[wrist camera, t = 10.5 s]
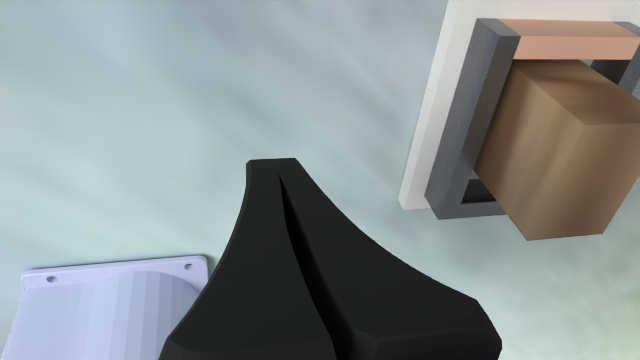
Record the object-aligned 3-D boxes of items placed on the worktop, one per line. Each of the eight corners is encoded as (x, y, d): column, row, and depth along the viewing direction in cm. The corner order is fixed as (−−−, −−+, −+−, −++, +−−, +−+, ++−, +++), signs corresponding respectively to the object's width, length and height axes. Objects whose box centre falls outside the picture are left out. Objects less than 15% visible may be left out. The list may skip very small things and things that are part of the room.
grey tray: (397, 199, 28) (416, 234, 26) (452, -14, 21) (484, 9, 18) (546, 189, 30) (575, 221, 28) (641, -6, 23) (692, 16, 21)
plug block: (467, 162, 26) (527, 240, 21) (503, 57, 22) (585, 125, 18) (531, 159, 27) (602, 233, 22) (577, 58, 23) (672, 122, 19)
